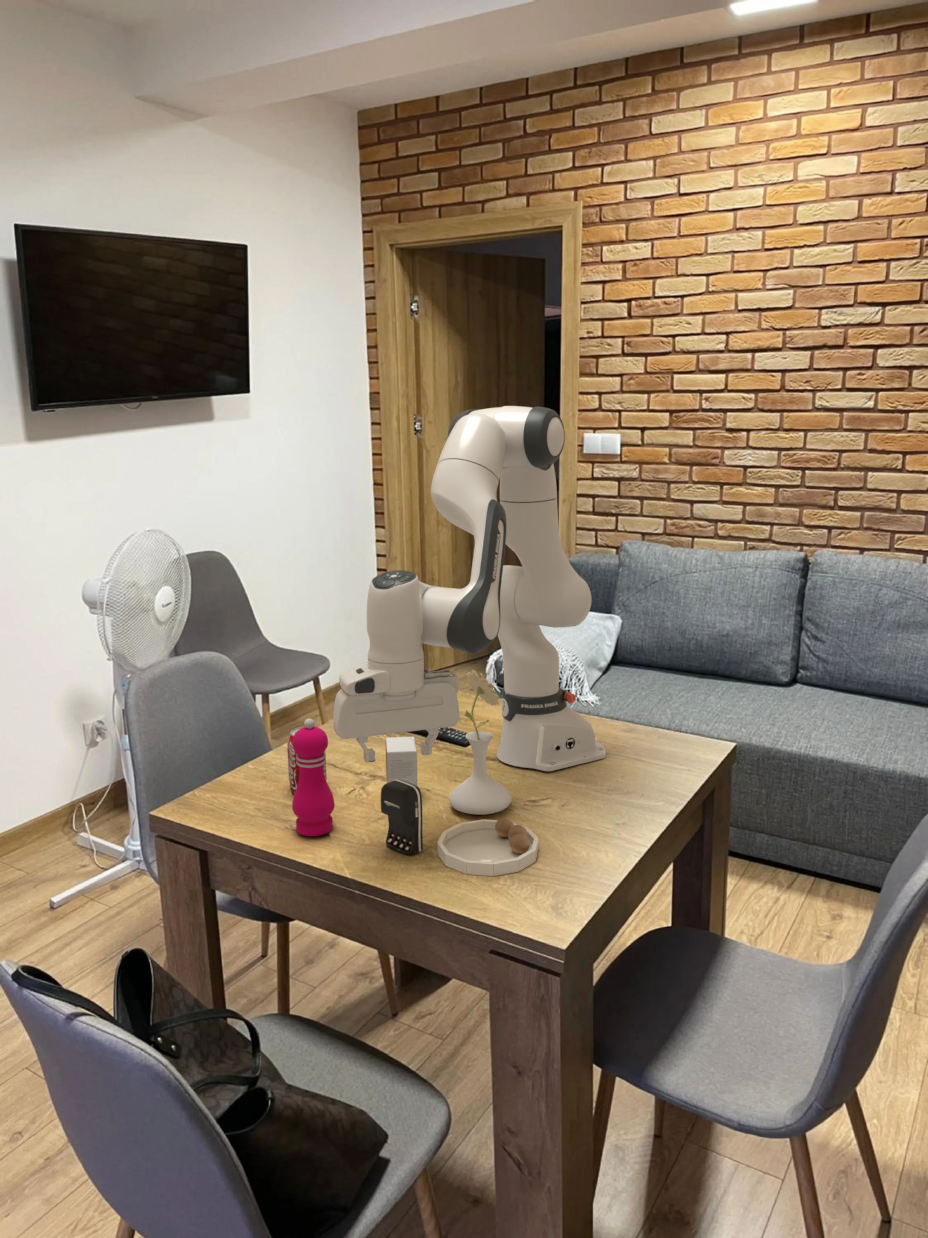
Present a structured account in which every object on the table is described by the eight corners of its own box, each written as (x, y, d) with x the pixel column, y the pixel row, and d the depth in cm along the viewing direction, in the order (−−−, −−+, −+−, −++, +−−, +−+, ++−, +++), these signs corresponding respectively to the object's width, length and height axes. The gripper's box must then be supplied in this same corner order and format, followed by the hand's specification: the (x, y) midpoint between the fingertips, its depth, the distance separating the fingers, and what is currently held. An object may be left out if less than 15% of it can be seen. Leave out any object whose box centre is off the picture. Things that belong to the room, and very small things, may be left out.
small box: (386, 789, 184) (385, 737, 182) (415, 787, 184) (414, 735, 182) (387, 806, 176) (385, 752, 174) (418, 804, 177) (417, 750, 174)
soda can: (319, 799, 179) (316, 738, 177) (283, 797, 181) (280, 736, 178) (332, 785, 186) (329, 726, 184) (297, 782, 188) (294, 724, 185)
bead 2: (522, 838, 161) (522, 820, 160) (530, 846, 158) (530, 828, 157) (505, 841, 160) (505, 823, 159) (512, 849, 157) (512, 831, 156)
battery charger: (378, 847, 160) (376, 782, 157) (395, 839, 163) (393, 775, 160) (407, 860, 155) (405, 793, 153) (424, 852, 158) (423, 786, 155)
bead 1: (510, 831, 164) (509, 813, 163) (517, 838, 161) (517, 821, 160) (492, 834, 163) (492, 816, 162) (499, 841, 160) (499, 823, 159)
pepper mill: (316, 841, 162) (311, 728, 158) (284, 832, 166) (278, 721, 162) (344, 825, 168) (339, 716, 164) (312, 816, 172) (306, 709, 168)
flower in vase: (518, 817, 171) (518, 681, 165) (455, 824, 168) (453, 686, 163) (500, 789, 183) (500, 662, 178) (441, 795, 181) (439, 666, 175)
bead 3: (525, 847, 158) (525, 829, 157) (532, 855, 155) (532, 837, 154) (506, 850, 157) (506, 832, 156) (514, 859, 154) (514, 840, 153)
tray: (515, 825, 167) (515, 814, 167) (553, 865, 153) (553, 853, 152) (427, 839, 162) (426, 828, 162) (457, 882, 148) (457, 870, 147)
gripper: (452, 663, 159) (453, 743, 162) (329, 675, 152) (332, 758, 155) (464, 673, 153) (465, 756, 156) (337, 686, 146) (340, 772, 149)
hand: (398, 757), depth 155 cm, fingers open, 8 cm apart
